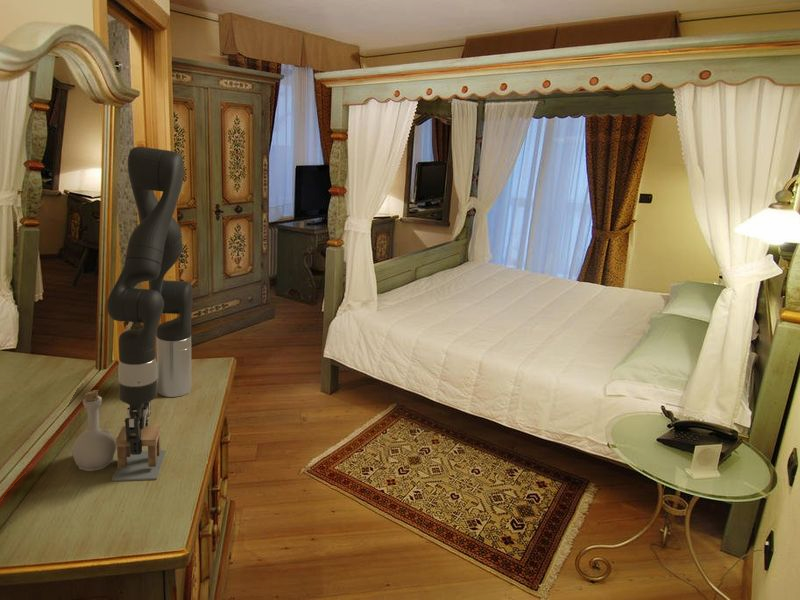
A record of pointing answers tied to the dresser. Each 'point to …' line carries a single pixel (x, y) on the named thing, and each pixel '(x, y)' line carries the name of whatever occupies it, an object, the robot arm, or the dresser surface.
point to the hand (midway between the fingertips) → (139, 445)
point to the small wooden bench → (148, 439)
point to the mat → (139, 468)
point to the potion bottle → (93, 439)
